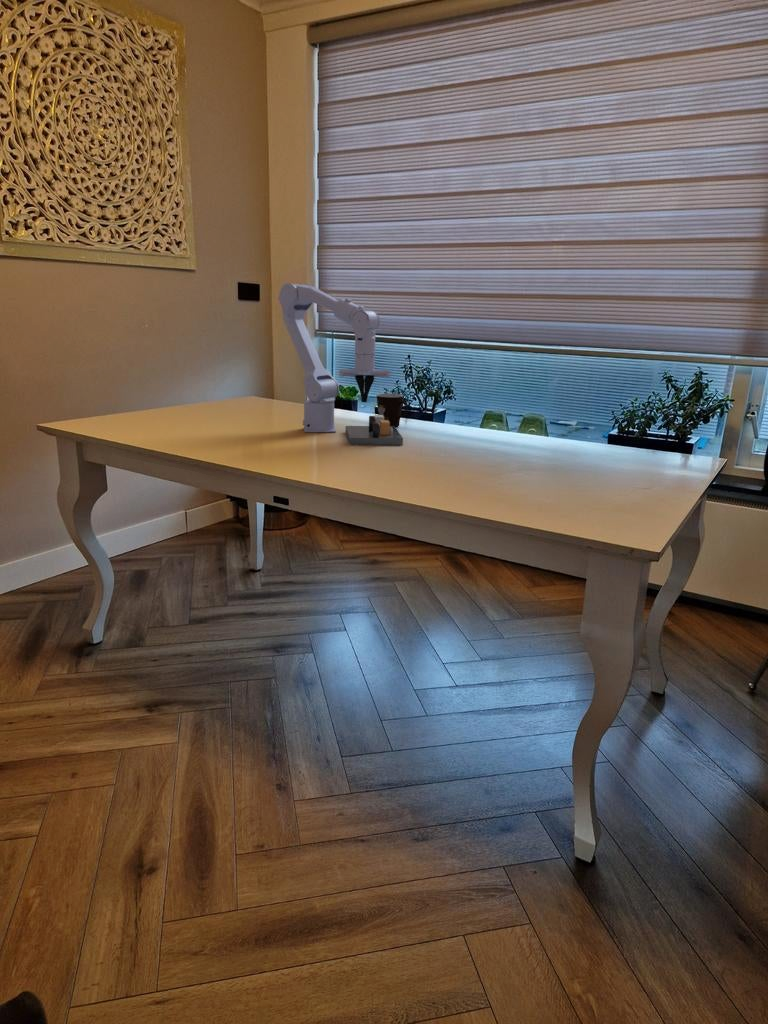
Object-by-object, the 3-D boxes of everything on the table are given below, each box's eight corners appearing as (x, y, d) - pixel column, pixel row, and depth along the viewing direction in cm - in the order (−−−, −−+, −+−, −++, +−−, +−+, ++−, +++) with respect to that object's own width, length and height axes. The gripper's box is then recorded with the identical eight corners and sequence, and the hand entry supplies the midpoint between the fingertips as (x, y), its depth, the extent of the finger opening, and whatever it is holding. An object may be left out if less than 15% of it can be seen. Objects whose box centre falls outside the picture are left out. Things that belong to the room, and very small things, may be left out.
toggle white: (375, 428, 198) (376, 417, 197) (374, 426, 202) (374, 414, 201) (383, 428, 199) (384, 417, 198) (382, 426, 202) (382, 414, 201)
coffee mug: (372, 424, 217) (373, 393, 213) (397, 423, 219) (398, 393, 216) (383, 431, 206) (384, 398, 203) (409, 430, 209) (410, 398, 205)
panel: (349, 444, 185) (350, 423, 183) (345, 432, 202) (345, 412, 200) (402, 445, 187) (403, 424, 185) (394, 432, 204) (394, 413, 202)
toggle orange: (381, 434, 190) (381, 422, 189) (379, 431, 194) (379, 420, 193) (389, 434, 190) (389, 422, 189) (387, 432, 194) (388, 420, 193)
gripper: (340, 354, 185) (339, 403, 189) (391, 355, 186) (390, 404, 190) (339, 352, 191) (338, 400, 196) (388, 353, 193) (387, 400, 197)
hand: (364, 401), depth 193 cm, fingers closed
